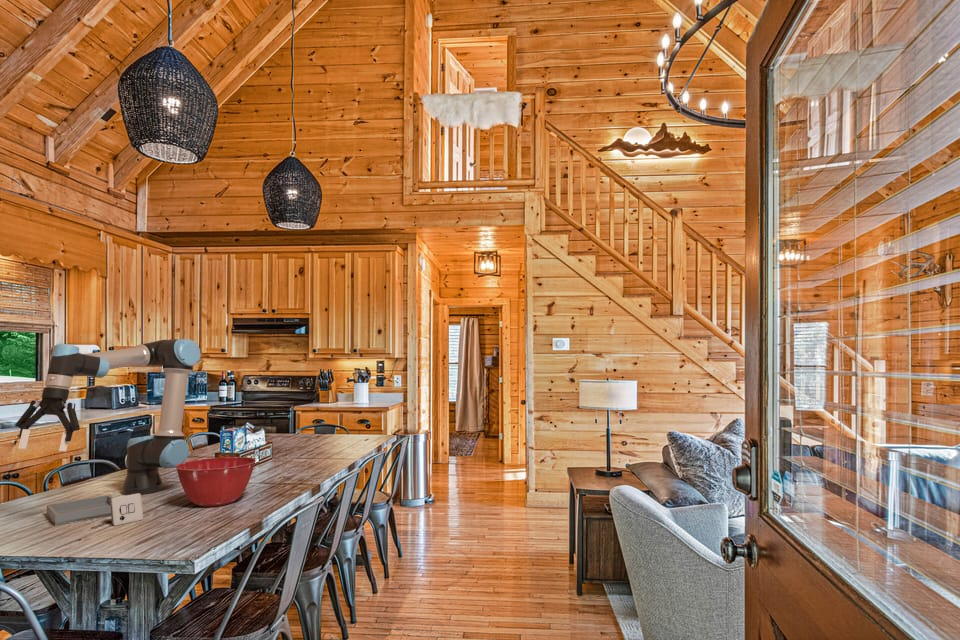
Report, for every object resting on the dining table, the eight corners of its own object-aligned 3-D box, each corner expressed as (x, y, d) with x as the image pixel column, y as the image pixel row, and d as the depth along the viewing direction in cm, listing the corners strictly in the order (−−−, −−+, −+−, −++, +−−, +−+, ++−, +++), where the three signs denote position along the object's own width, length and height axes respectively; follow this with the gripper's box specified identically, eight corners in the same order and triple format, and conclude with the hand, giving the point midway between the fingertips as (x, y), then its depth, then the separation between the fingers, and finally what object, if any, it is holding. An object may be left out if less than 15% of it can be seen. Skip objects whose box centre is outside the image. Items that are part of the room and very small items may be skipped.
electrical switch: (113, 526, 198) (113, 498, 199) (107, 525, 201) (107, 498, 202) (143, 520, 205) (142, 493, 206) (137, 519, 208) (136, 492, 209)
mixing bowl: (199, 493, 242) (199, 456, 243) (267, 493, 241) (267, 455, 242) (159, 512, 214) (159, 470, 215) (236, 512, 213) (236, 469, 214)
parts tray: (109, 504, 228) (110, 495, 228) (122, 513, 214) (122, 504, 214) (46, 514, 214) (46, 505, 215) (55, 525, 200) (55, 515, 200)
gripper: (12, 384, 201) (-4, 447, 196) (86, 388, 202) (72, 451, 197) (28, 387, 209) (13, 448, 203) (99, 391, 209) (86, 452, 204)
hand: (42, 450), depth 200 cm, fingers open, 13 cm apart
